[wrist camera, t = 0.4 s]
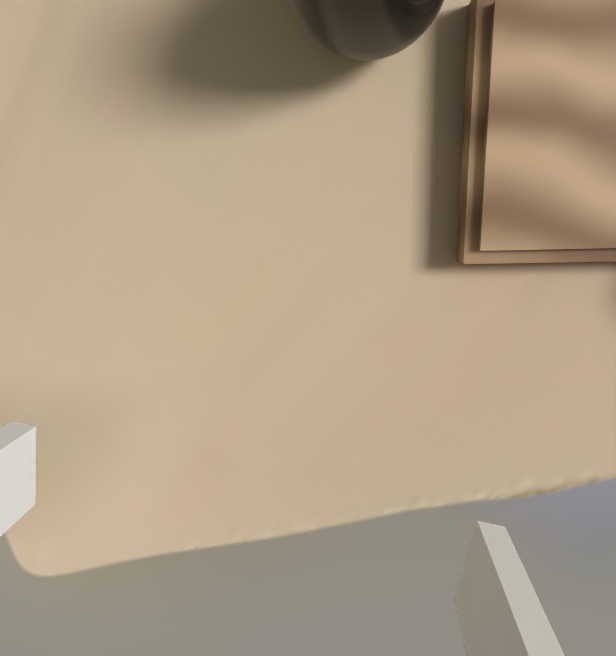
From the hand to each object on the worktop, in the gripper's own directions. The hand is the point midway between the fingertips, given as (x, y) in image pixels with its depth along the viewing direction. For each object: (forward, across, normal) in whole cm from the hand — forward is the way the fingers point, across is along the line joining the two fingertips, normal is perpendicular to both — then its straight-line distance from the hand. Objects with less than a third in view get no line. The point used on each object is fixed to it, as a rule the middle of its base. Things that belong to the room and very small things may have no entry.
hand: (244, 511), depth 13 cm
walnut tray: (+26, +17, +17) cm, 36 cm away
